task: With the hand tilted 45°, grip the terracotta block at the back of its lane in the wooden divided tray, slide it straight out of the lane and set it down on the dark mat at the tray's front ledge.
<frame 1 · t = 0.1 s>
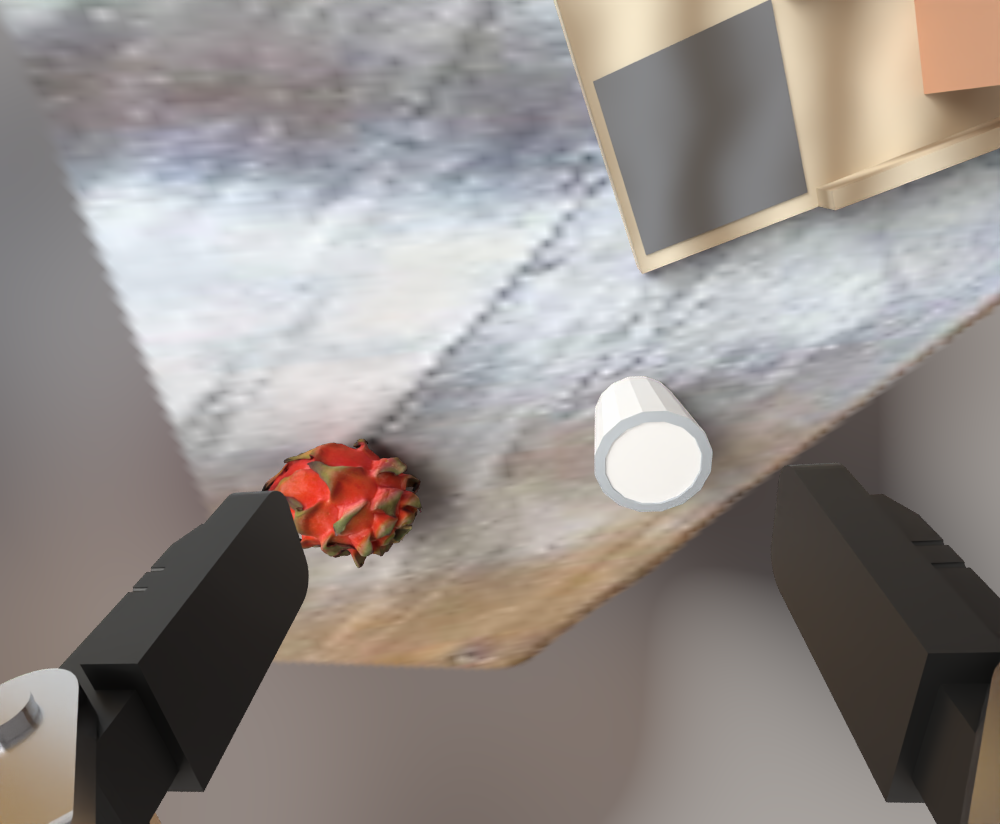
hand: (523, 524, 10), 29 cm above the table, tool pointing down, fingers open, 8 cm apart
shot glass: (635, 412, 40), on the table
dragon fruit: (354, 473, 44), on the table
terracotta block: (968, 25, 28), point 2 cm above the table, touching wooden divided tray
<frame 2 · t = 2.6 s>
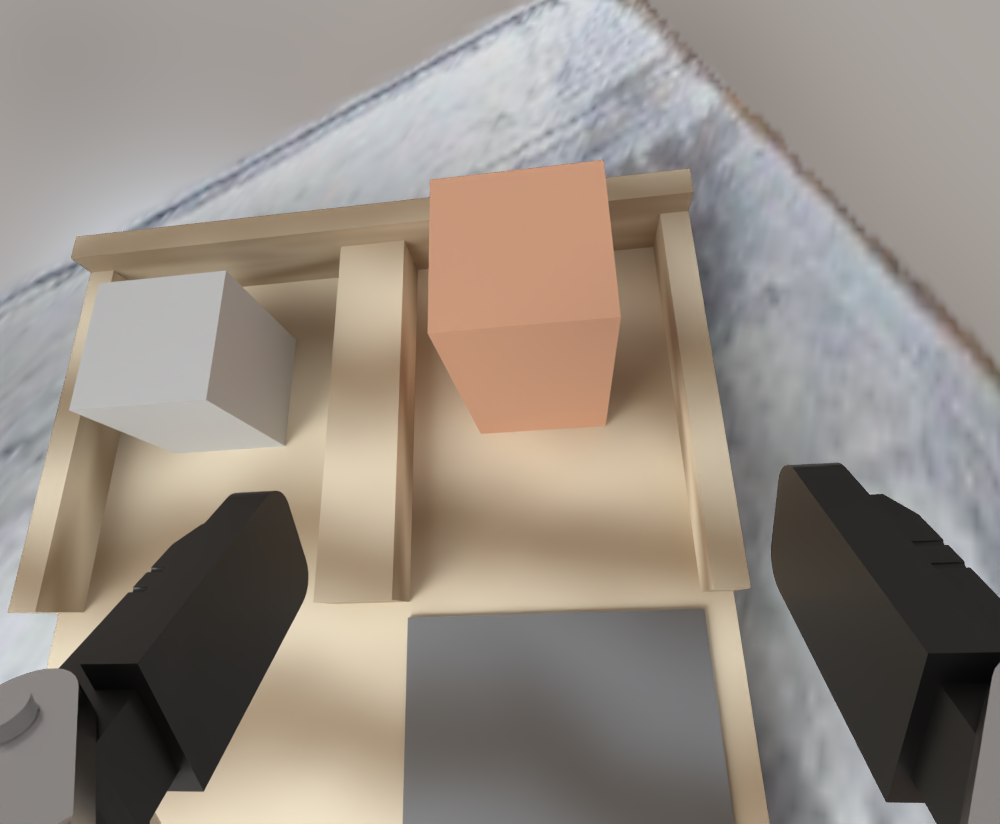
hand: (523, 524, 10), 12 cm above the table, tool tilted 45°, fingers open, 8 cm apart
wooden divided tray: (393, 549, 22), on the table
grey block: (236, 395, 23), point 2 cm above the table, touching wooden divided tray
terracotta block: (539, 372, 22), point 2 cm above the table, touching wooden divided tray
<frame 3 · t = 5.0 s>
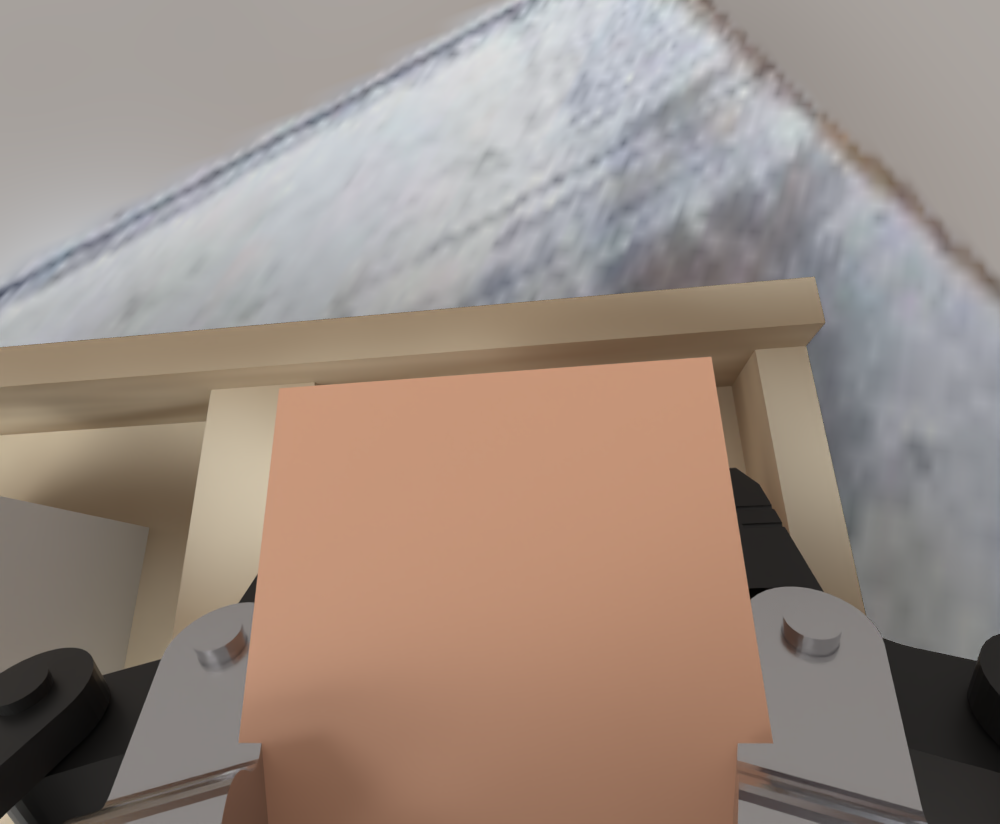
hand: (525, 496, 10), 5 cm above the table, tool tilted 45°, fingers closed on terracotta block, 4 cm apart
grey block: (46, 625, 14), point 2 cm above the table, touching wooden divided tray
terracotta block: (543, 612, 13), point 2 cm above the table, touching gripper, wooden divided tray
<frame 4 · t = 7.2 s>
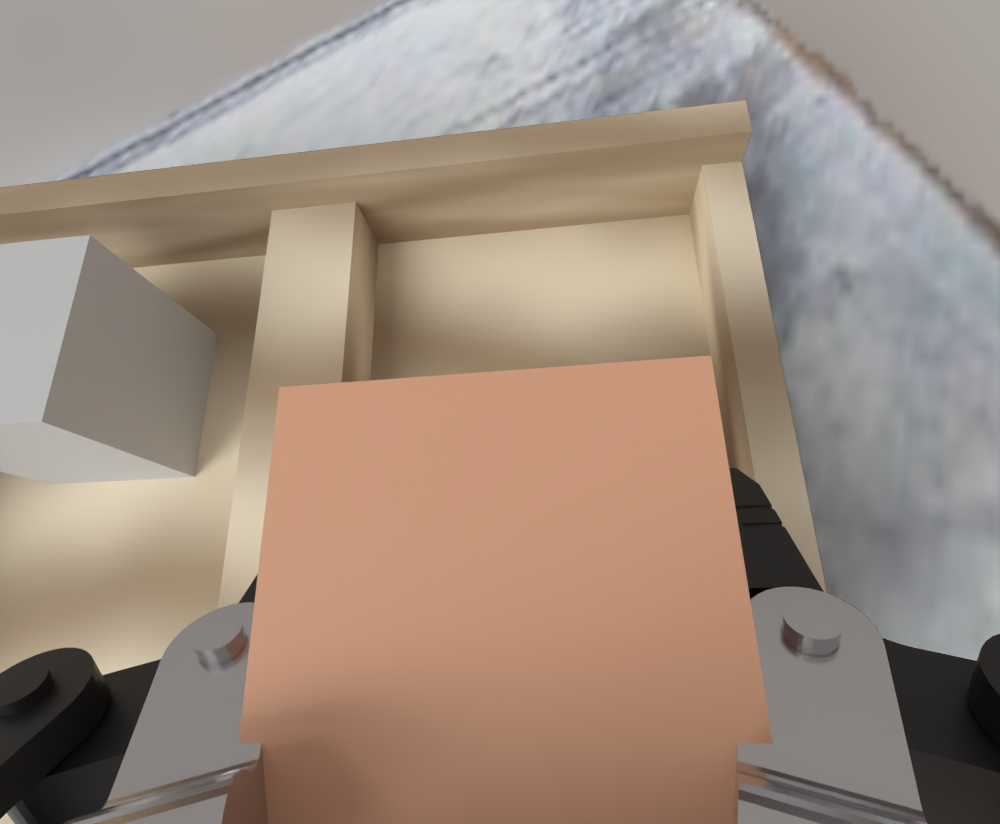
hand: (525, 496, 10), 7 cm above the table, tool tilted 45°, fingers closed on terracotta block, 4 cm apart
wooden divided tray: (339, 615, 17), on the table
grey block: (136, 407, 17), point 2 cm above the table, touching wooden divided tray
terracotta block: (543, 611, 13), point 3 cm above the table, touching gripper
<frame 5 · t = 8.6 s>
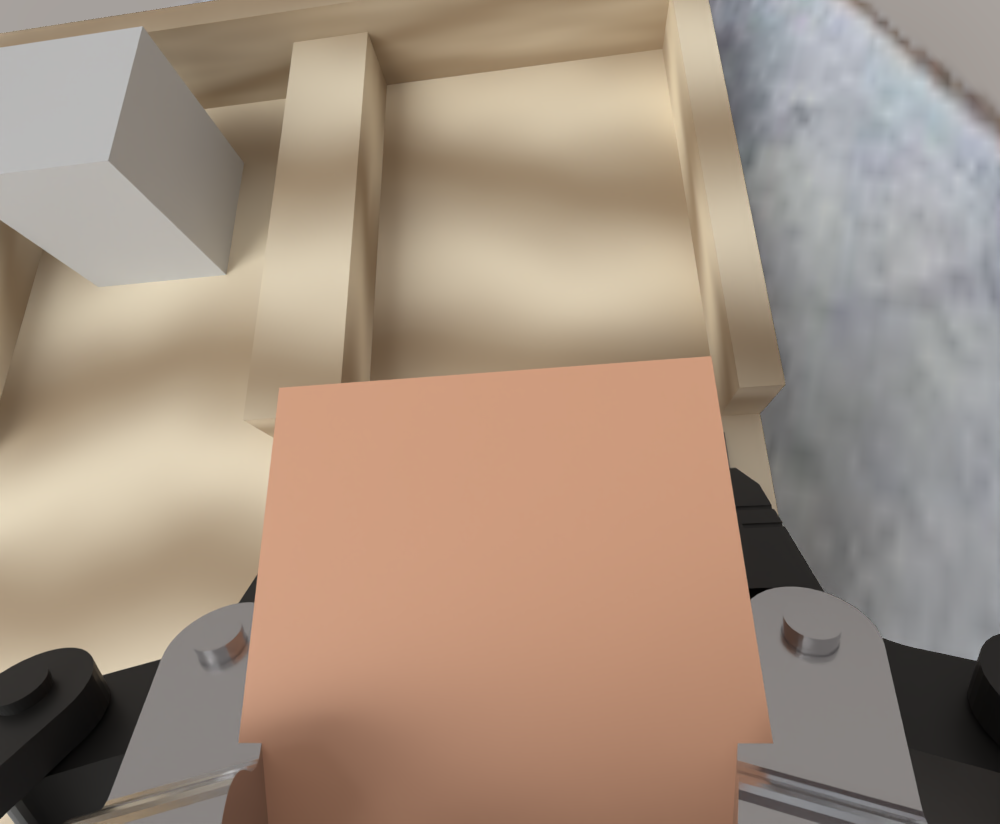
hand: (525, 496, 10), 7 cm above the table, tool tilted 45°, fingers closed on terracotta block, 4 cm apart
wooden divided tray: (353, 398, 19), on the table
grey block: (173, 223, 20), point 2 cm above the table, touching wooden divided tray
terracotta block: (543, 612, 13), point 3 cm above the table, touching gripper
when the fingers open (6 cm above the table, at t = 9.6 s): terracotta block stays where it is, resting on wooden divided tray.
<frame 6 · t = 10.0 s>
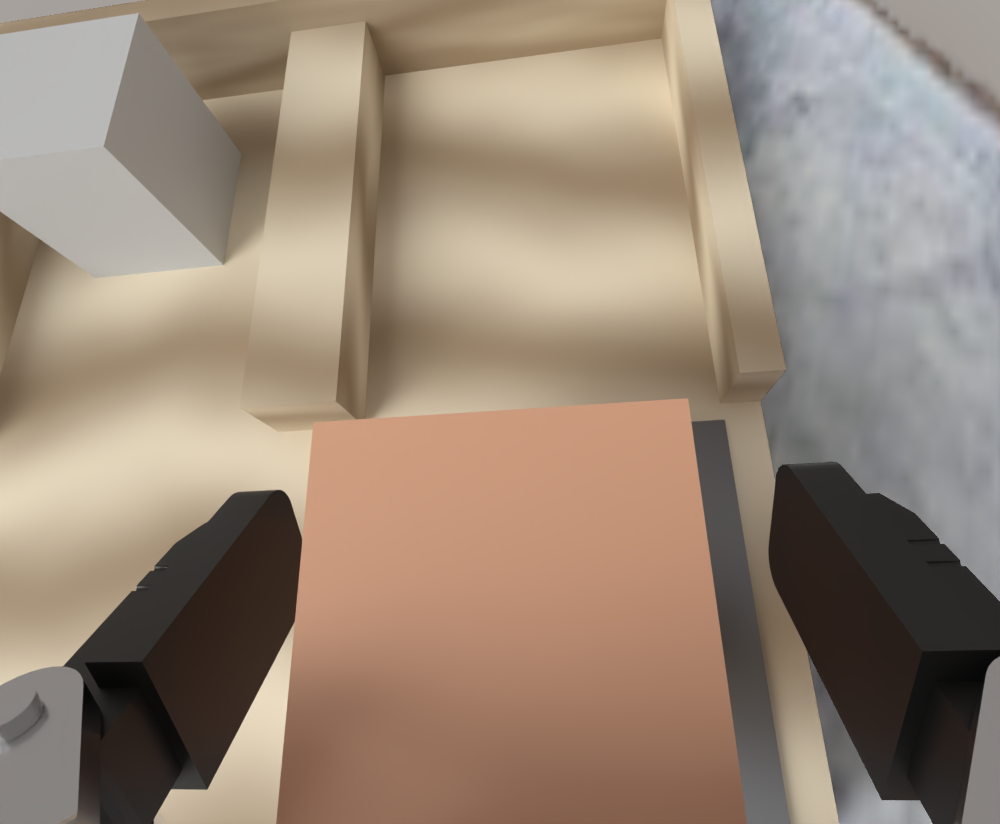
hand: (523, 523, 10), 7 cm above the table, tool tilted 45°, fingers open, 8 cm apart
wooden divided tray: (351, 389, 19), on the table
grey block: (170, 214, 20), point 2 cm above the table, touching wooden divided tray
terracotta block: (542, 614, 14), point 2 cm above the table, touching wooden divided tray
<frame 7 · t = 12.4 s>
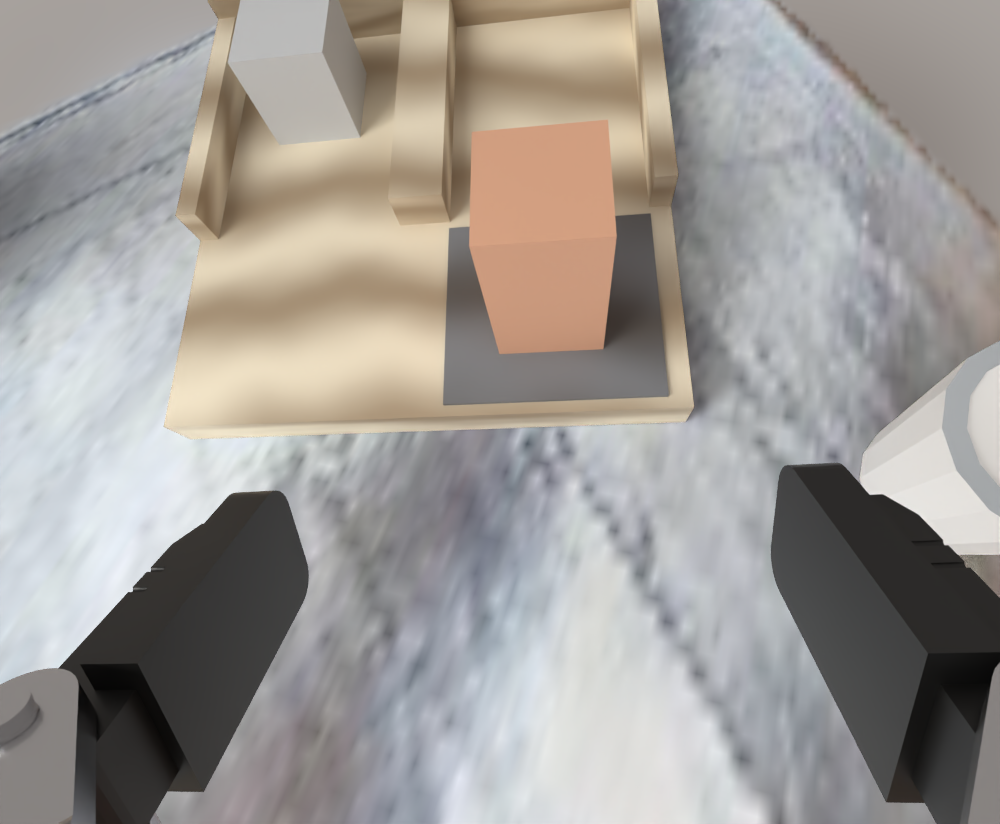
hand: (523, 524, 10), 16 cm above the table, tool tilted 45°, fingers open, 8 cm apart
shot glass: (930, 485, 24), on the table
wooden divided tray: (435, 215, 31), on the table
grey block: (323, 108, 32), point 2 cm above the table, touching wooden divided tray
terracotta block: (549, 305, 26), point 2 cm above the table, touching wooden divided tray
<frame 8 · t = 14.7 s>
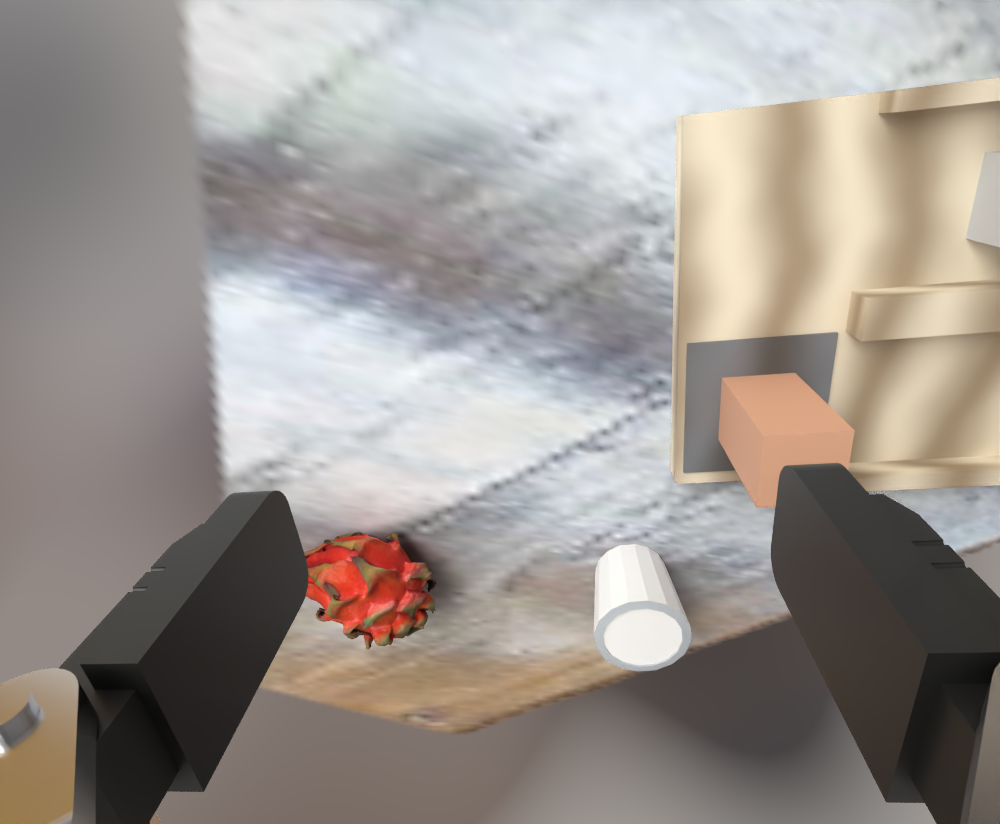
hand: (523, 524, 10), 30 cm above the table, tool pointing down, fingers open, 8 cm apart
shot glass: (629, 570, 48), on the table
dragon fruit: (376, 554, 49), on the table
wooden divided tray: (867, 300, 37), on the table
terracotta block: (755, 407, 38), point 2 cm above the table, touching wooden divided tray
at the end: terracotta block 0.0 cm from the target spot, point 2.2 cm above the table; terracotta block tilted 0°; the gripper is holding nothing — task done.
